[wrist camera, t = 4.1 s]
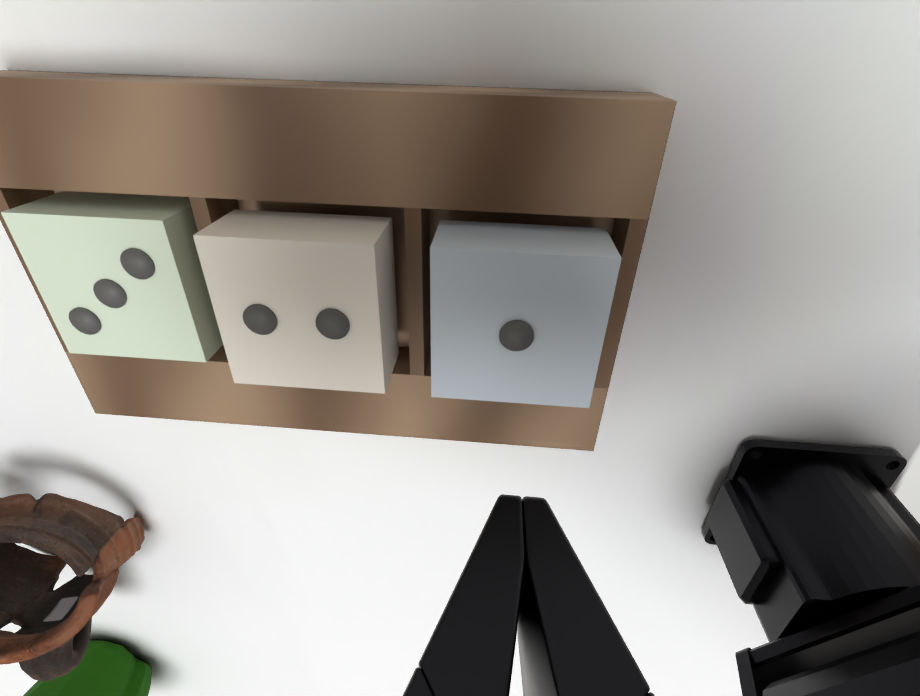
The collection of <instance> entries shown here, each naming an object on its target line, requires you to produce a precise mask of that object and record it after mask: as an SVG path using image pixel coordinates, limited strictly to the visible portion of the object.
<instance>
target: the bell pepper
mask: <svg viewBox="0 0 920 696" xmlns="http://www.w3.org/2000/svg"><path fill="white" fill-rule="evenodd" d="M150 684H151V667H150V666H149V665H148V664H146V663H145V662H143V661H141V660H139V659H136V658H134V656H133V655H132V654H131V653H130V652H129V651H128V650H126V649H125V648H124V647H123V646H121V645H118V644H114V643H111V642H107V641H97V640H89V644H88V647H87V650H86V653H85V655H84V657H83V659H82V661H81V662H80V664H79V665H78V666H77V667H75V668H74V669H73V670H72V671H70V672H69V673H68V674H66V675H64V676H60V677H57V678H54V679H53V680H50V681H45V682H44V681H40V680H38V681H37V682H36V683H35V684H34V685H33V686H32V687H31V688H30V689H29V690H28V691H27V692H26V694H25V695H24V696H148V693H149V690H150Z"/></svg>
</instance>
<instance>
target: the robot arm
mask: <svg viewBox="0 0 920 696" xmlns="http://www.w3.org/2000/svg"><path fill="white" fill-rule="evenodd" d="M754 451H756V452H754ZM752 452H753V453H752ZM906 464H907V461H906V459H905V458H904V457H903V456H902V455H901V454H900V453H899V452H898V451H896V450H889V449H875V448H861V447H848V446H834V445H820V444H807V443H793V442H779V441H765V440H750V441H747V442H745V443H744V444H742V446H741V447H740V449H739V451H738V453H737V455H736V457H735V460H734V462H733V464H732V466H731V468H730V470H729V473H728V475H727V477H726V479H725V481H724V482H723V483H722V485H721V487H720V489H719V491H718V493H717V496H716V498H715V500H714V502H713V504H712V507H711V509H710V511H709V513H708V515H707V518H706V519H707V520H706V523H705V525H704V527H703V529H702V534H703V537H704V539H705V541H706V542H707V543H709V544H714V545H717V546H718V548H719V551H720V553H721V556H722V558H723V560H724V563H725V565H726V568H727V570H728V572H729V575H730V577H731V579H732V582H733V584H734V587H735V589H736V591H737V594H738V596H739V598H740V599H741V600H742V601H743V602H744V603H745V604H753V606H754V608H755V611H756V613H757V615H758V618H759V620H760V622H761V624H762V627H763V629H764V631H765V633H766V636H767V638H768V640H769V643H766V644H764V645H761V646H759V647H756V648H754V649H751V648H746V649H743V650H741V651H738V652H736V660H737V666H738V671H739V677H740V684H741V689H742V695H743V696H920V524H919V523H918V522H917V521H916V519H915V518H914V517H913V516H912V515H911V514H910V512H909V511H908V510H907V509H906V508H905V507H904V505H903V504H902V503H901V502H900V501H899V499H898V498H897V497H896V496H895V495H894V494H893V492H892V491H891V490H890V489H889V488H890V487H891V485H892V484H893V483H894V481H895V480H896V479H897V477H898V476H899V474H900V473H901V472H902V470H903V469H904V468H905V466H906ZM517 632H518V643H519V654H520V664H521V674H522V685H523V695H524V696H654V694H653V693H651V692H650V693H648V692H649V689H650V688H649V686H648V684H647V682H646V680H645V678H644V676H643V675H642V673H641V671H640V669H639V667H638V666H637V664H636V662H635V660H634V658H633V657H632V655H631V653H630V651H629V649H628V647H627V646H626V644H625V642H624V640H623V638H622V637H621V635H620V633H619V631H618V629H617V628H616V626H615V624H614V622H613V620H612V618H611V617H610V615H609V613H608V611H607V609H606V608H605V606H604V604H603V602H602V600H601V598H600V597H599V595H598V593H597V591H596V589H595V588H594V586H593V584H592V582H591V580H590V579H589V577H588V575H587V573H586V571H585V569H584V568H583V566H582V564H581V562H580V560H579V559H578V557H577V555H576V553H575V551H574V550H573V548H572V546H571V544H570V542H569V540H568V539H567V537H566V535H565V533H564V531H563V530H562V528H561V526H560V524H559V522H558V521H557V519H556V517H555V515H554V513H553V511H552V510H551V508H550V506H549V504H548V503H547V501H546V500H545V499H544V498H537V497H524V498H523V499H521V497H520V496H513V495H500V496H499V497H498V499H497V501H496V503H495V505H494V507H493V509H492V511H491V513H490V516H489V518H488V520H487V522H486V524H485V526H484V528H483V530H482V532H481V534H480V536H479V538H478V541H477V543H476V545H475V547H474V549H473V551H472V553H471V555H470V557H469V559H468V561H467V564H466V566H465V568H464V570H463V572H462V574H461V576H460V578H459V580H458V582H457V584H456V586H455V589H454V591H453V593H452V595H451V597H450V599H449V601H448V603H447V605H446V607H445V609H444V612H443V614H442V616H441V618H440V620H439V622H438V624H437V626H436V628H435V630H434V632H433V634H432V637H431V639H430V641H429V643H428V645H427V647H426V649H425V651H424V653H423V655H422V657H421V660H420V662H419V668H416V669H415V671H414V673H413V676H412V678H411V680H410V682H409V684H408V686H407V688H406V690H405V692H404V694H403V696H509V691H510V683H511V674H512V666H513V658H514V650H515V642H516V633H517Z"/></svg>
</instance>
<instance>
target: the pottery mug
mask: <svg viewBox="0 0 920 696" xmlns="http://www.w3.org/2000/svg"><path fill="white" fill-rule="evenodd" d="M143 540H144V530H143V526H142V522H141V519H140V517H139V516H137V517H134V518H130V519H128V520H126V521H125V522H124V519H123V518H122V517H121V516H118V515H115V514H113V513H111V512H109V511H106V510H104V509H101V508H98V507H95V506H92V505H89V504H87V503H84V502H81V501H78V500H75V499H71V498H66V497H63V496H60V495H58V494H52V493H47V494H45V495H43V496H42V497H41V498H40V499H39V500H35V498H34V497H33V496H32V495H30V494H18V495H12V496H8V497H4V498H0V629H1V628H2V627H4V626H5V625H7V624H9V623H14V624H16V625H19V626H21V627H22V628H21V629H20V630H19V631H17V632H16V633H12V632H9V631H2V630H0V664H10V663H16V662H19V664H20V667H21V669H22V670H23V671H24V672H25V673H27V674H28V675H29V676H30V677H31V678H33V679H35V680H40V681H44V682H45V681H50V680H53V679H54V678H57V677H60V676H64V675H66V674H68V673H69V672H70V671H72V670H73V669H74V668H75V667H77V666H78V665H79V664H80V662H81V661H82V659H83V657H84V655H85V653H86V650H87V647H88V644H89V640H90V632H91V622H92V616H93V615H94V614H95V613H96V612H97V611H98V609H99V608H100V607H101V606H102V604H103V603H104V602H105V600H106V599H107V598H108V596H109V595H110V593H111V592H112V590H113V588H114V585H115V583H116V580H117V577H118V574H119V567H120V566H121V565H122V564H123V563H125V562H126V561H127V560H128V559H129V558H130V557H131V556H133V555H134V553H135V552H136V551H138V550H140V548H141V544H142V542H143ZM15 543H24V544H26V545H30V546H35V547H39V548H42V549H44V550H46V551H49V552H51V553H54V554H56V555H57V556H51V555H45V554H40V553H36V552H34V551H31V550H29V549H27V548H24V547H21V546H18V545H16V544H15ZM66 564H68V565H69V566H70V567H71V568H72V569H73V571H74V572H75V574H76V575H77V576H76V577H74V578H73V579H72V580H70V581H69V582H67V583H65V584H64V585H62V586H61V587H59V588H58V589H56V590H54V591H53V588H54V585H55V583H56V582H57V580H58V578H59V574H60V572H61V571H62V570H63V568H64V567H65V565H66ZM91 565H92V567H93V569H94V574H93V575H87V574H85V573H86V571H87V570H88V569H89V568H90V567H91Z"/></svg>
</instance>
